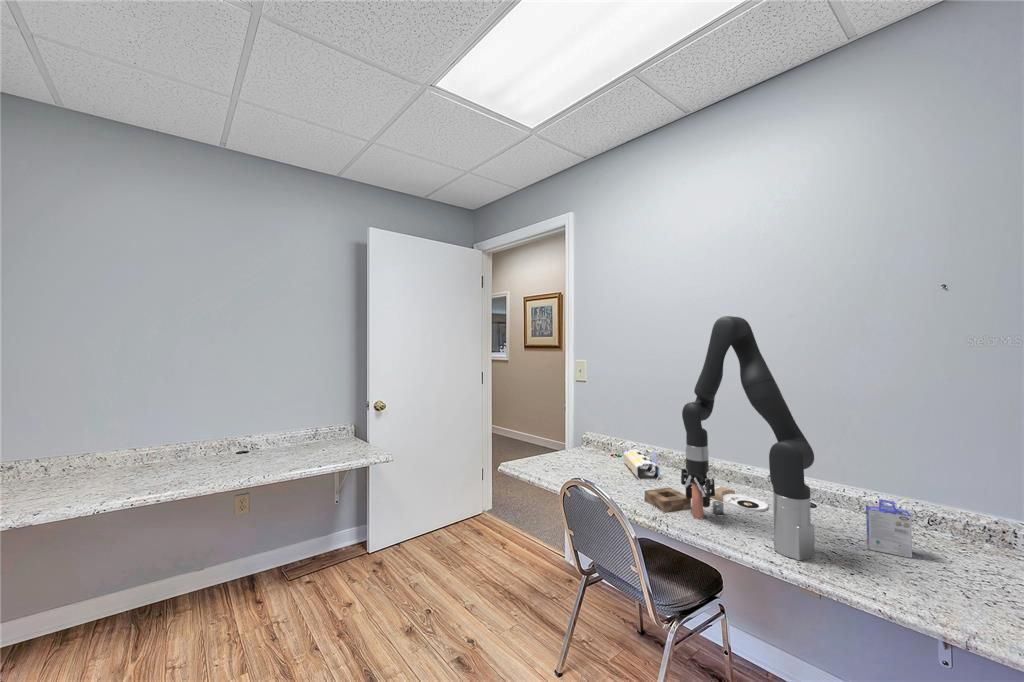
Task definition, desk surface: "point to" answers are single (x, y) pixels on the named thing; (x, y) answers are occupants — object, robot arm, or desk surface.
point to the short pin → (718, 508)
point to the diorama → (640, 461)
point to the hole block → (667, 499)
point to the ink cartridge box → (889, 529)
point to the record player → (738, 500)
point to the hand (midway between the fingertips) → (697, 502)
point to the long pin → (697, 502)
